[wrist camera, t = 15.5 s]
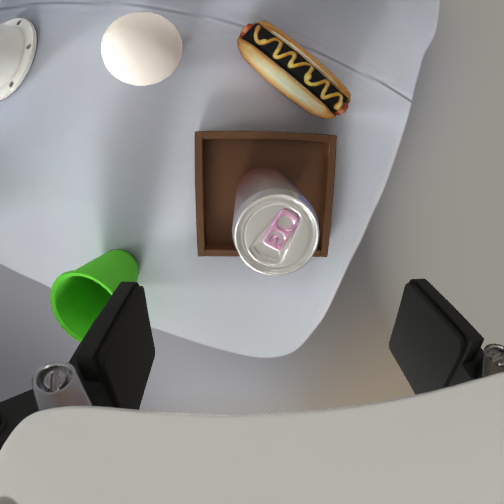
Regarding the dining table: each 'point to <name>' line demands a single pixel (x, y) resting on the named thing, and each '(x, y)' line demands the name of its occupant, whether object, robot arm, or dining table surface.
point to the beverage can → (273, 223)
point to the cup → (90, 290)
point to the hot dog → (292, 70)
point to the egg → (141, 48)
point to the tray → (250, 157)
